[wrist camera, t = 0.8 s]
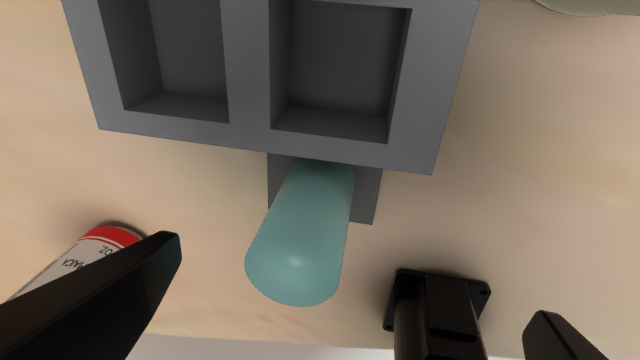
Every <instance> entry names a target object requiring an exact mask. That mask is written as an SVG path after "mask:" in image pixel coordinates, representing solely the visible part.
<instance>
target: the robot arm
mask: <svg viewBox="0 0 640 360" xmlns="http://www.w3.org/2000/svg"><path fill="white" fill-rule="evenodd" d="M181 260H182V254H181V246H180V239H179V235H178V234H177V233H174V232H170V231H164V230H163V231H159V232H157V233H155V234H153V235H150V236H148V237H146V238H144V239H142V240H139V241H137V242H135V243H133V244H131V245H129V246H126V247H124V248H122V249H120V250H118V251H115V252H113V253H111V254H109V255H107V256H105V257H102V258H100V259H98V260H96V261H94V262H92V263H89V264H87V265H85V266H83V267H81V268H78V269H76V270H74V271H72V272H70V273H68V274H65V275H63V276H61V277H59V278H57V279H54V280H52V281H50V282H48V283H46V284H44V285H41V286H39V287H37V288H35V289H33V290H30V291H28V292H26V293H24V294H22V295H20V296H17V297H15V298H13V299H11V300H9V301H6V302H4V303H2V304H0V360H125V359H126V357H127V356H128V354H129V353H130V351H131V350H132V348H133V347H134V345H135V344H136V342H137V341H138V339H139V338H140V336H141V335H142V333H143V332H144V330H145V329H146V327H147V325H148V324H149V322H150V321H151V319H152V317H153V316H154V314H155V312H156V310H157V308H158V306H159V305H160V303H161V301H162V299H163V297H164V295H165V293H166V291H167V289H168V287H169V285H170V283H171V281H172V279H173V278H174V276H175V274H176V272H177V270H178V268H179V266H180V263H181ZM401 276H404V277H401ZM490 294H491V290H490V287H489V285H488V284H486V283H482V282H476V281H470V280H464V279H458V278H452V277H446V276H440V275H435V274H429V273H423V272H417V271H411V270H405V269H399V270H397V271H396V273H395V276H394V280H393V284H392V288H391V292H390V296H389V299H388V303H387V307H386V311H385V315H384V319H383V329H384V330H386V331H389V332H394V353H395V354H394V355H395V360H488V357H487V353H486V350H485V346H484V342H483V339H482V335H481V331H480V328H479V324H478V319H479V317H480V315H481V313H482V311H483V309H484V307H485V305H486V303H487V301H488V299H489V297H490ZM522 343H523V348H524V354H525V360H609V359H608V358H607V357H606V356H604V355H603V354H602V353H601V352H600V351H599V350H598V349H597V348H596V347H595V346H594V345H592V344H591V343H590V342H589V341H588V340H587V339H586V338H585V337H584V336H583V335H582V334H580V333H579V332H578V331H577V330H576V329H575V328H574V327H573V326H572V325H571V324H570V323H569V322H567V321H566V320H565V319H564V318H563V317H562V316H561V315H559V314H557V313H554V312H549V311H544V310H539V311H537V312H536V313H535V314H534V316H533V317H532V319H531V320H530V322H529V323H528V325H527V326H526V328H525V330H524V332H523V335H522Z"/></svg>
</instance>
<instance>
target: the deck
mask: <svg viewBox="0 0 640 360" xmlns="http://www.w3.org/2000/svg"><path fill="white" fill-rule="evenodd" d="M296 159H297V157H295V156H288V155H281V154H274V153H267V162H268V209H270V207H271V205H272V203H273V201H274V199H275V198H276V196H277V194H278V192H279V190H280V188H281V186H282V184H283V182H284V180H285V178H286V176H287V174H288V173H289V171H290V169H291V167H292V165H293V163H294V161H295V160H296ZM351 166H352V168H353V170H354V174H355V185H354V191H353V197H352V203H351V210H350V216H349V221H350V222H356V223H363V224H369V225H372V224H373V219H374V213H375V208H376V202H377V197H378V192H379V186H380V181H381V176H382V170H383V169H382V168H375V167H368V166H361V165H353V164H351Z"/></svg>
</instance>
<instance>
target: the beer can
mask: <svg viewBox="0 0 640 360" xmlns="http://www.w3.org/2000/svg"><path fill="white" fill-rule="evenodd" d="M142 239H144V238H143V237H142V236H141V235H139V234H137V233H136V232H134V231H132V230H130V229H127V228H124V227H118V226H101V227H97V228H94V229H92V230H90V231H89V232H88V233H86V234H85V235H84V236H83V237H81V238H80V239H79V240H78V241H77V242H75V243H74V244H73V245H72V246H71V247H69V248H68V249H67V250H66V251H65V252H64V253H62V254H61V255H60V256H59V257H58V258H56V259H55V260H54V261H53V262H52V263H50V264H49V265H48V266H47V267H46V268H44V269H43V270H42V271H41V272H40V273H38V274H37V275H36V276H35V277H34V278H32V279H31V280H30V281H29V282H28V283H26V284H25V285H24V286H23V287H22V288H20V289H19V290H18V291H17V292H16V293H14V294H13V295H12V296H11V297H10V298H8V299H7V300H6V301H9V300H11V299H13V298H15V297H17V296H20V295H22V294H24V293H26V292H28V291H30V290H33V289H35V288H37V287H39V286H41V285H44V284H46V283H48V282H50V281H52V280H54V279H57V278H59V277H61V276H63V275H65V274H68V273H70V272H72V271H74V270H76V269H78V268H81V267H83V266H85V265H87V264H89V263H92V262H94V261H96V260H98V259H100V258H102V257H105V256H107V255H109V254H111V253H113V252H115V251H118V250H120V249H122V248H124V247H126V246H129V245H131V244H133V243H135V242H137V241H139V240H142ZM6 301H5V302H6Z"/></svg>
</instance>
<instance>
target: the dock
mask: <svg viewBox="0 0 640 360" xmlns="http://www.w3.org/2000/svg"><path fill="white" fill-rule="evenodd" d="M479 1H480V0H61V2H62V6H63V9H64V13H65V16H66V19H67V23H68V26H69V30H70V33H71V36H72V40H73V43H74V47H75V50H76V53H77V57H78V60H79V63H80V67H81V70H82V74H83V77H84V80H85V84H86V87H87V91H88V94H89V97H90V101H91V104H92V108H93V111H94V114H95V118H96V121H97V124H98V128H99V129H100V130H107V131H114V132H121V133H129V134H136V135H143V136H150V137H158V138H165V139H172V140H179V141H187V142H194V143H201V144H208V145H216V146H223V147H230V148H237V149H245V150H252V151H259V152H266V153H274V154H281V155H288V156H295V157H303V158H310V159H317V160H324V161H332V162H339V163H346V164H353V165H361V166H368V167H375V168H382V169H390V170H397V171H404V172H411V173H419V174H426V175H432V172H433V168H434V165H435V161H436V157H437V154H438V150H439V146H440V143H441V139H442V136H443V132H444V128H445V125H446V121H447V117H448V114H449V110H450V106H451V103H452V99H453V96H454V92H455V88H456V85H457V81H458V77H459V74H460V70H461V66H462V63H463V59H464V56H465V52H466V48H467V45H468V41H469V37H470V34H471V30H472V26H473V23H474V19H475V16H476V12H477V8H478V5H479Z"/></svg>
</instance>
